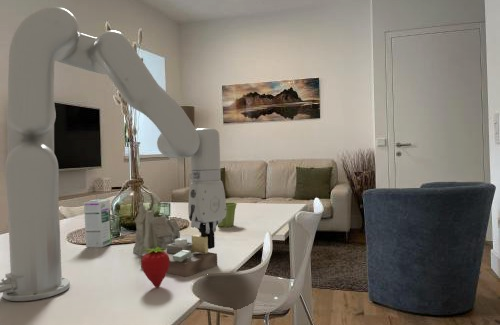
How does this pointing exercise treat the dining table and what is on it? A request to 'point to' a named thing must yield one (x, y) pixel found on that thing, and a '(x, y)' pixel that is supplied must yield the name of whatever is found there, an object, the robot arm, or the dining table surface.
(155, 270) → the strawberry
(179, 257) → the sage rocker
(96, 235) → the syrup box
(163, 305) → the dining table surface
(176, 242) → the grey push button
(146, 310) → the dining table surface
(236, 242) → the dining table surface
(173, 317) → the dining table surface
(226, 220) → the plant pot
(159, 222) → the grey irregular lump
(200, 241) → the beige flat square block
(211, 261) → the switch panel
